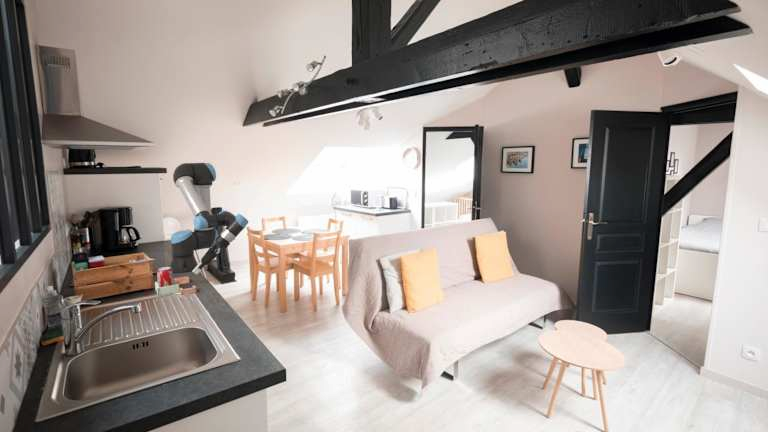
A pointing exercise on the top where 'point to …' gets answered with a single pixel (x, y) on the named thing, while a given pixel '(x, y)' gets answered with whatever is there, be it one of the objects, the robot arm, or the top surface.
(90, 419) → the top surface
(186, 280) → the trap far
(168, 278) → the soda can
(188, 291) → the trap near
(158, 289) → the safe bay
